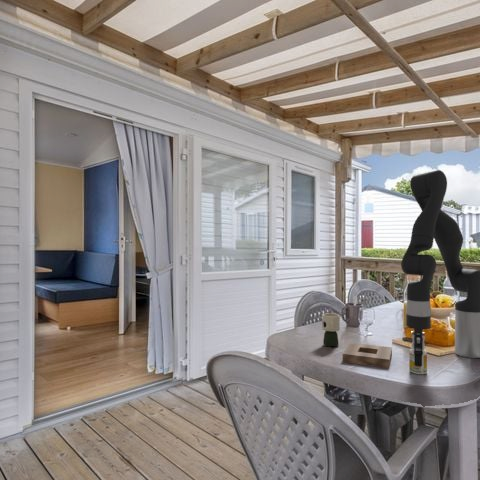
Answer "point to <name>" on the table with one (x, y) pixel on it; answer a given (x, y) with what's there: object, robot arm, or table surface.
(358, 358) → the walnut bottle holder
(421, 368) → the supplement bottle
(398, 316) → the table surface
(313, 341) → the table surface
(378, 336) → the table surface
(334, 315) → the character mug
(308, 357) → the table surface
